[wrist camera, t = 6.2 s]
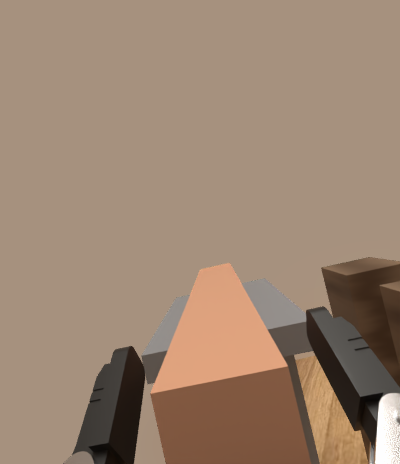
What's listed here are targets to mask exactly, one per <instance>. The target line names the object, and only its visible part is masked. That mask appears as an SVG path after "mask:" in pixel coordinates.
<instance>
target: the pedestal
mask: <svg viewBox="0 0 400 464" xmlns="http://www.w3.org/2000/svg"><path fill="white" fill-rule="evenodd" d="M241 284H242V285H243V287H244V289H245V291H246V293H247V294H248V296H249V298H250V300H251V301H252V303H253V305H254V307H255V308H256V310H257V312H258V314H259V316H260V317H261V319H262V321H263V323H264V324H265V326H266V328H267V330H268V332H269V333H270V335H271V337H272V339H273V340H274V342H275V344H276V346H277V347H278V349H279V351H280V353H281V355H282V356H283V358H284V360H285V362H286V363H287V365H288V368H289V372H290V376H291V381H292V385H293V389H294V393H295V397H296V402H297V406H298V410H299V414H300V419H301V423H302V427H303V431H304V435H305V440H306V444H307V448H308V452H309V457H310V461H311V464H320V463H319V459H318V454H317V450H316V446H315V442H314V438H313V433H312V429H311V425H310V421H309V416H308V412H307V408H306V404H305V400H304V395H303V391H302V387H301V383H300V379H299V374H298V370H297V366H296V362H295V358H294V355H295V354H300V353H305V352H310V351H313V349H312V347H311V345H310V343H309V340H308V337H307V329H306V313H305V312H303V311H302V310H301V309H300V308H299V307H298V306H296V305H295V304H294V303H293V302H292V301H291V300H289V299H288V298H287V297H286V296H285V295H284V294H282V293H281V292H280V291H279V290H277V288H275V287H274V286H273V285H272V284H271V283H270V282H268V281H267V280H266V279H260V280H255V281H251V282H246V283H241ZM189 296H190V295H187V296H182V297H178V298H176V299H175V301H174V303H173V304H172V306H171V307H170V309H169V311H168V313H167V314H166V316H165V317H164V319H163V321H162V323H161V324H160V326H159V327H158V329H157V331H156V333H155V334H154V336H153V337H152V339H151V341H150V342H149V344H148V346H147V347H146V349H145V351H144V352H143V354H142V361H143V365H144V370H145V374H146V379H147V383H148V384H151V383H155V381H156V378H157V376H158V373H159V371H160V368H161V366H162V364H163V361H164V359H165V356H166V354H167V351H168V349H169V346H170V344H171V341H172V339H173V336H174V334H175V331H176V329H177V326H178V324H179V321H180V319H181V316H182V314H183V311H184V309H185V306H186V304H187V301H188V299H189Z"/></svg>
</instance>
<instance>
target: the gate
mask: <svg viewBox="0 0 400 464" xmlns="http://www.w3.org/2000/svg"><path fill="white" fill-rule="evenodd" d="M321 269H322V273H323V277H324V281H325V285H326V289H327V293H328V298H329V302H330V305H331V309H332V314H333V318H336V317H342V318H344V319H345V320H347V321H348V322H349V323H351V324H352V325H353V326H354V327H355V328H356V330H357V331H358V332H359V334H360V335H361V336H362V339H364V340H365V342H366V343H367V344H368V346H369V348H370V349H371V350H372V351H373V352H374V354H375V355H376V356H377V358H378V359H379V360H380V362H381V363H382V364H383V366H384V367H385V369H386V370H387V371H388V373H389V374H390V375H391V377H392V378H393V379H394V381H395V382H396V383H397V385H398V386H399V387H400V262H399V261H393V260H386V259H378V258H372V257H368V258H363V259H359V260H354V261H350V262H346V263H340V264H336V265H332V266H327V267H322V268H321ZM361 434H362V438H363V442H364V446H365V450H366V454H367V458H368V462H369V449H370V440H369V438H368V436H367V434H366V433H365V431H364V430H361Z"/></svg>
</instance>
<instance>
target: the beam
mask: <svg viewBox="0 0 400 464" xmlns="http://www.w3.org/2000/svg"><path fill="white" fill-rule="evenodd" d="M150 394H151V398H152V403H153V408H154V412H155V417H156V421H157V426H158V429H159V434H160V439H161V443H162V448H163V453H164V457H165V462H166V464H311V461H310V457H309V452H308V448H307V444H306V440H305V435H304V431H303V427H302V423H301V419H300V414H299V410H298V406H297V402H296V397H295V393H294V389H293V385H292V381H291V376H290V372H289V368H288V365H287V363H286V362H285V360H284V358H283V356H282V355H281V353H280V351H279V349H278V347H277V346H276V344H275V342H274V340H273V339H272V337H271V335H270V333H269V332H268V330H267V328H266V326H265V324H264V323H263V321H262V319H261V317H260V316H259V314H258V312H257V310H256V308H255V307H254V305H253V303H252V301H251V300H250V298H249V296H248V294H247V293H246V291H245V289H244V287H243V285H242V284H241V282H240V280H239V278H238V277H237V275H236V273H235V271H234V270H233V268H232V266H231V264H230V263H226V264H222V265H217V266H213V267H209V268H204V269H200V271H199V274H198V277H197V279H196V281H195V284H194V286H193V289H192V291H191V294H190V296H189V299H188V301H187V304H186V306H185V309H184V311H183V314H182V316H181V319H180V321H179V324H178V326H177V329H176V331H175V334H174V336H173V339H172V341H171V344H170V346H169V349H168V351H167V354H166V356H165V359H164V361H163V364H162V366H161V368H160V371H159V373H158V376H157V378H156V381H155V383H154V386H153V388H152V391H151V393H150Z"/></svg>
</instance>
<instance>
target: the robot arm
mask: <svg viewBox="0 0 400 464" xmlns="http://www.w3.org/2000/svg"><path fill="white" fill-rule="evenodd" d="M306 329H307V337H308V340H309V343H310V345H311V347H312V349H313V351H314V353H315V355H316V357H317V359H318V361H319V363H320V365H321V367H322V369H323V371H324V373H325V374H326V376H327V378H328V380H329V382H330V384H331V386H332V388H333V390H334V392H335V394H336V396H337V398H338V400H339V402H340V404H341V406H342V407H343V409H344V411H345V413H346V415H347V417H348V419H349V421H350V423H351V425H352V427H353V429H354V431H358V430H364V431H365V433H366V434H367V436H368V438H369V440H370V449H369V462H368V464H400V387H399V386H398V385H397V383H396V382H395V381H394V379H393V378H392V377H391V375H390V374H389V373H388V371H387V370H386V369H385V367H384V366H383V364H382V363H381V362H380V360H379V359H378V358H377V356H376V355H375V354H374V352H373V351H372V350H371V349H370V348H369V346H368V344H367V343H366V342H365V340H364V339H362V336H361V335H360V334H359V332H358V331H357V330H356V328H355V327H354V326H353V325H352V324H351V323H349V322H348V321H347V320H345V319H344V318H342V317H336V318H333V317H332V316H331V314H330V313H329V311H328V310H327V309H326V308H325V307H318V308H314V309H309V310H307V311H306ZM144 383H145V370H144V366H143V364H142V362H141V360H140V358H139V357H138V355H137V353H136V351H135V349H134V348H133V347H132V346H129V347H125V348H120V349H116V350H115V351H114V352H113V355H112V359H111V363H110V364H105V365H104V366H103V368H102V370H101V371H100V373H99V374H98V376H97V378H96V381H95V385H94V388H93V393H92V395H91V398H90V403H89V404H88V408H87V411H86V414H85V417H84V421H83V424H82V427H81V431H80V434H79V437H78V441H77V444H76V447H75V449H74V452H73V454H72V456H70V457H69V458H68V459H67V460H66V461H65V462H64V463H63V464H134V458H135V451H136V443H137V435H138V427H139V420H140V412H141V405H142V398H143V390H144Z"/></svg>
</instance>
